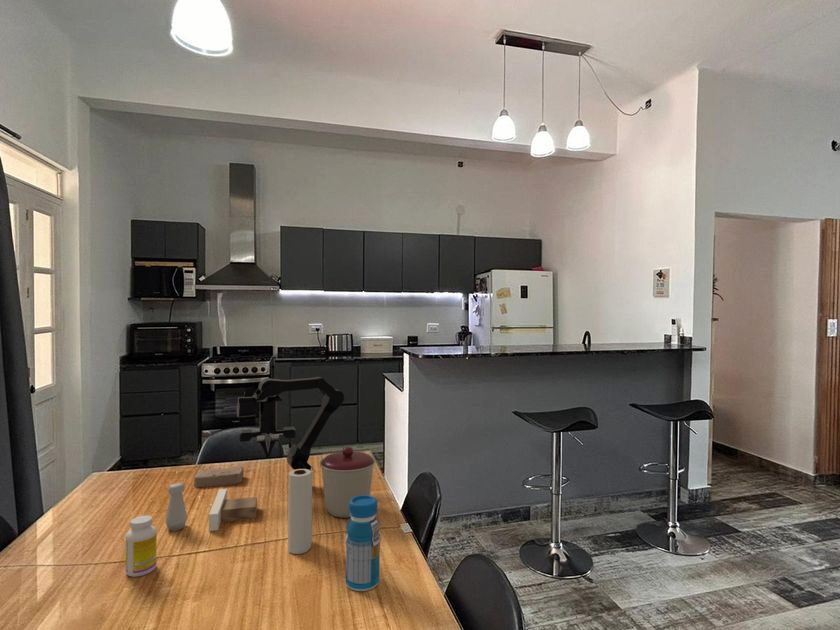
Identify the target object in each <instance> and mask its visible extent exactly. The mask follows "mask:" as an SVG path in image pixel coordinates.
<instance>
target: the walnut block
mask: <svg viewBox="0 0 840 630" xmlns="http://www.w3.org/2000/svg"><path fill="white" fill-rule="evenodd" d="M257 510H258V497H257V496H253V497H242V498H241V497H240V498H231V499H227V500H224V503H223V506H222V509H221V523H224V522H235V521H242V520H244V521H245V520H253V519H256V516H257V515H256V514H257Z"/></svg>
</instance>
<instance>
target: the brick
mask: <svg viewBox="0 0 840 630" xmlns="http://www.w3.org/2000/svg"><path fill="white" fill-rule="evenodd" d="M244 472H245V469H244V466H231V467H226V468H224V467H223V468H207V469H200V470H198V471H197V472H196V473H197V474H195V476H194V479H193V483H194V484H193V487H194V488H204V487H215V486H217V487H218V486H232V485H237V484H241V482H242V481H243V478H244V474H245V473H244Z"/></svg>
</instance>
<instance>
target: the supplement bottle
mask: <svg viewBox="0 0 840 630" xmlns="http://www.w3.org/2000/svg"><path fill="white" fill-rule="evenodd" d="M129 523H130V525H129V527H130V530H128V532H127V533H126V534H125V574H126V575H127V576H129V577H134V578H135V577H142V576H145V575H148V574H150V573H151V572H153V571H154V570H155V569H156V567H157V528H156V527H155V526H153V525H152V523H153V517H152V516H151V515H140V516H137V517H134V518H132V519H131V520H130V522H129Z"/></svg>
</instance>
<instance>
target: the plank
mask: <svg viewBox="0 0 840 630" xmlns="http://www.w3.org/2000/svg"><path fill="white" fill-rule="evenodd" d="M224 500H228V488H220V489H218V491H217V494H216V497H215V498H214V501H213V503H212V506H211V509H210V511H209V514H208V532H215V531H219V529H220V525H221V523H222V522H221V509H222V506H223V503H224Z"/></svg>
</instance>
